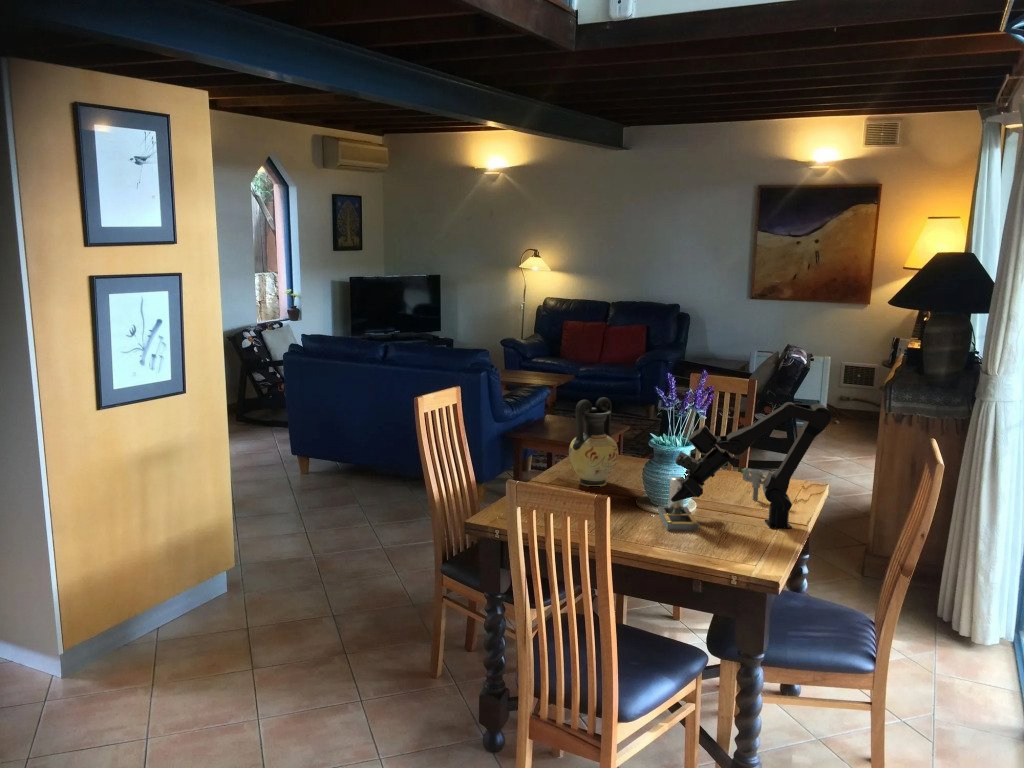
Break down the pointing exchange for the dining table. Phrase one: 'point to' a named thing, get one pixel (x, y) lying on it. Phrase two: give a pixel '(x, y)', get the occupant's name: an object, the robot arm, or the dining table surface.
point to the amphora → (593, 443)
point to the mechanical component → (753, 479)
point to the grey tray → (678, 520)
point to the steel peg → (673, 488)
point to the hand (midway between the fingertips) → (671, 496)
